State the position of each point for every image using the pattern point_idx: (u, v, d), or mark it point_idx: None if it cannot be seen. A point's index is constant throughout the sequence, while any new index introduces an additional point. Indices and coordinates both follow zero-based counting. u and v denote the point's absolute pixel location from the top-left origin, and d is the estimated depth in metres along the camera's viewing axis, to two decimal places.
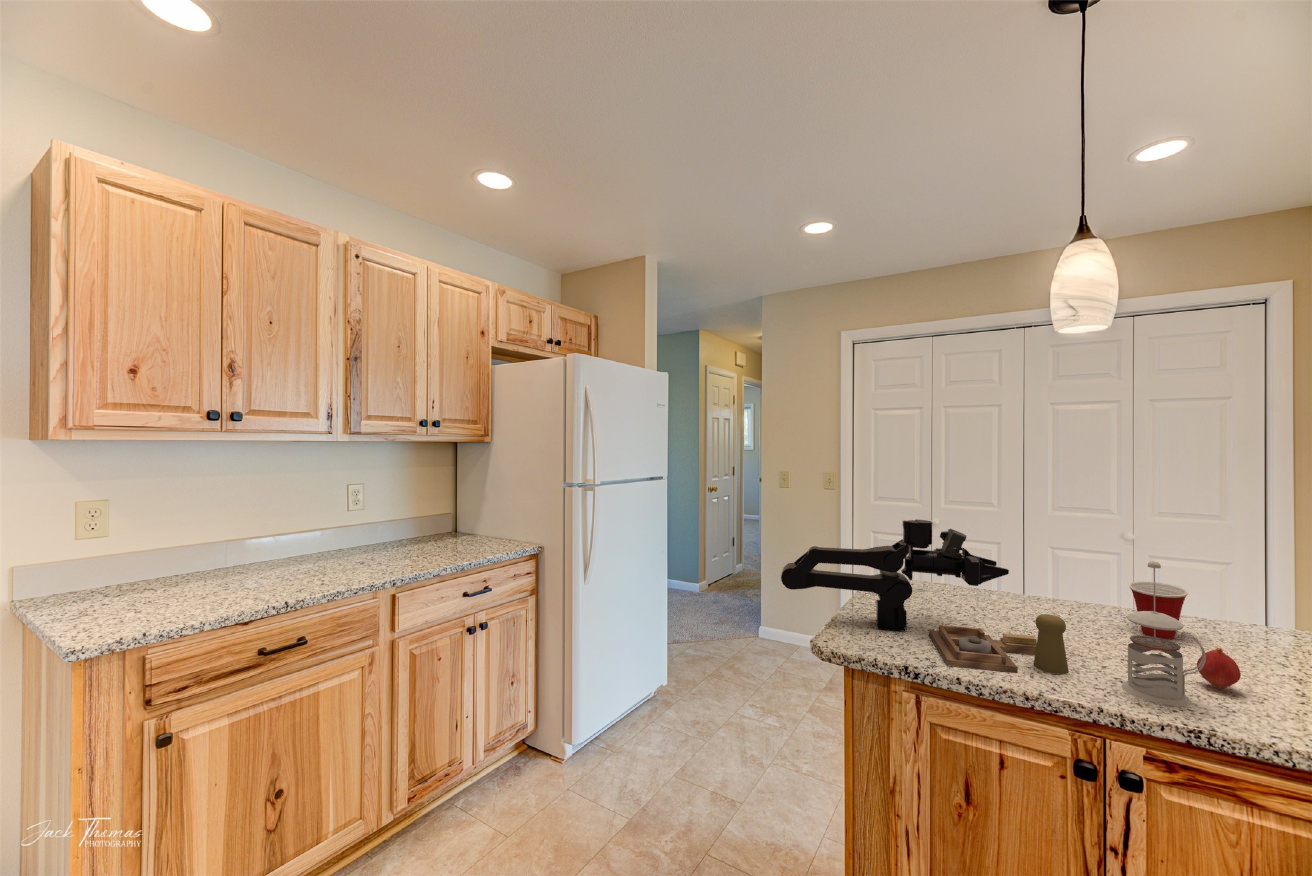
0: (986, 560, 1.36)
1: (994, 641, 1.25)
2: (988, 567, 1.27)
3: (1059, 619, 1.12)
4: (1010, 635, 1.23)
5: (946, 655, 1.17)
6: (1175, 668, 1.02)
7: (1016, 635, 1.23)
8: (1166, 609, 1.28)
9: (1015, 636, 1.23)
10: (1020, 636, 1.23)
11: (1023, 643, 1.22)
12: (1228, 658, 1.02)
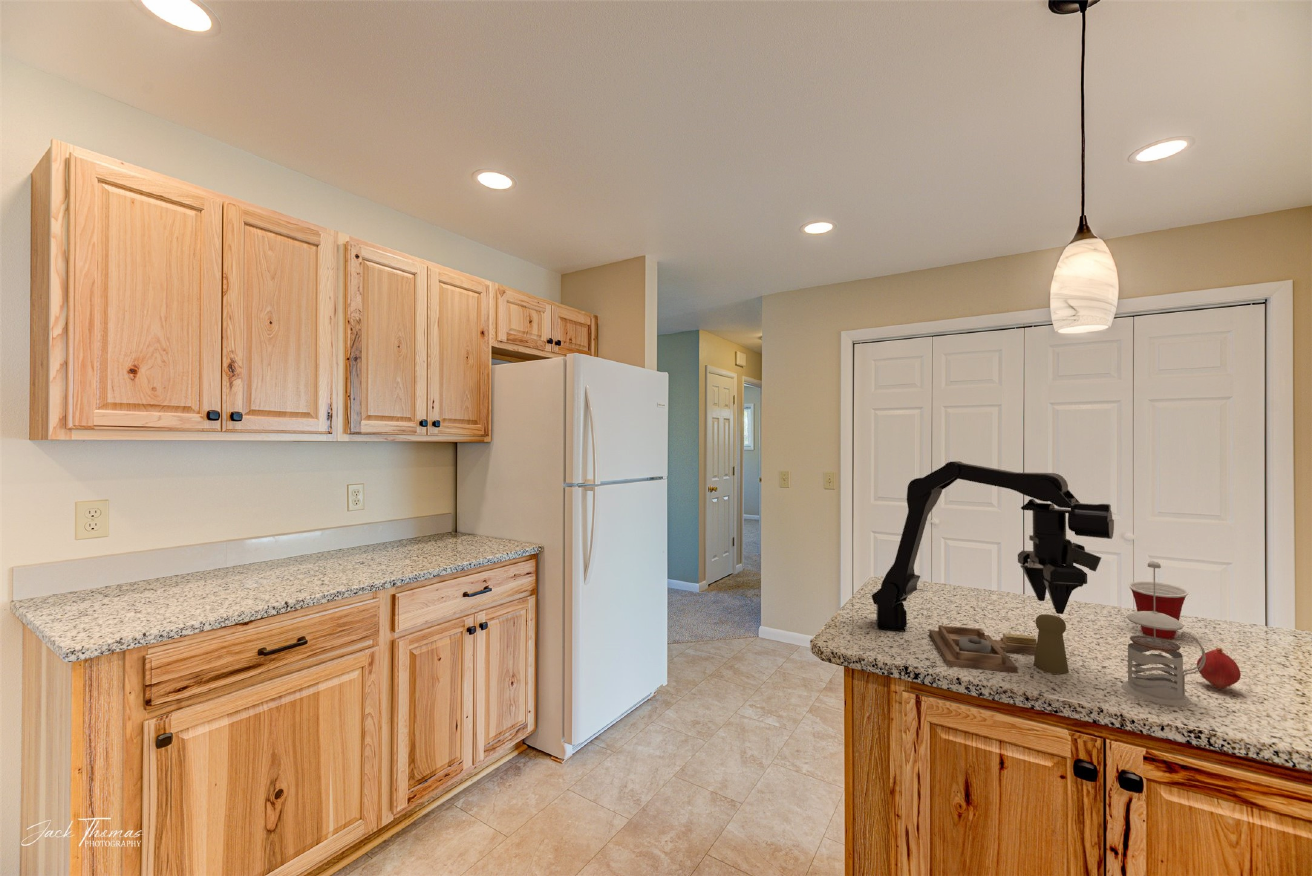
0: (1044, 590, 1.18)
1: (994, 641, 1.25)
2: (1068, 592, 1.07)
3: (1059, 619, 1.12)
4: (1010, 635, 1.23)
5: (946, 655, 1.17)
6: (1175, 668, 1.02)
7: (1016, 635, 1.23)
8: (1166, 609, 1.28)
9: (1015, 636, 1.23)
10: (1020, 636, 1.23)
11: (1023, 643, 1.22)
12: (1228, 658, 1.02)
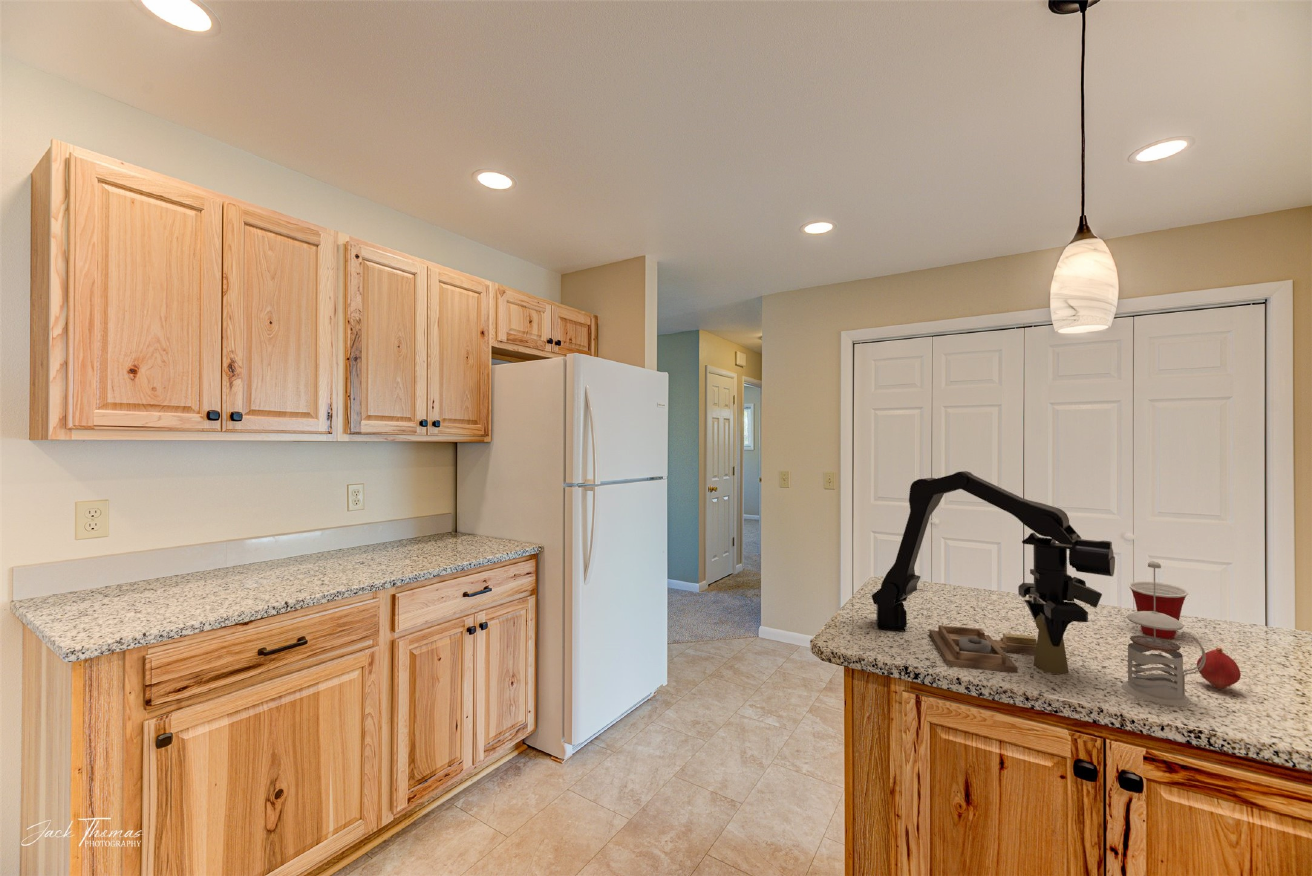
0: None
1: (994, 641, 1.25)
2: (1064, 626, 1.09)
3: None
4: (1010, 635, 1.23)
5: (946, 655, 1.17)
6: (1175, 668, 1.02)
7: (1016, 635, 1.23)
8: (1166, 609, 1.28)
9: (1015, 636, 1.23)
10: (1020, 636, 1.23)
11: (1023, 643, 1.22)
12: (1228, 658, 1.02)
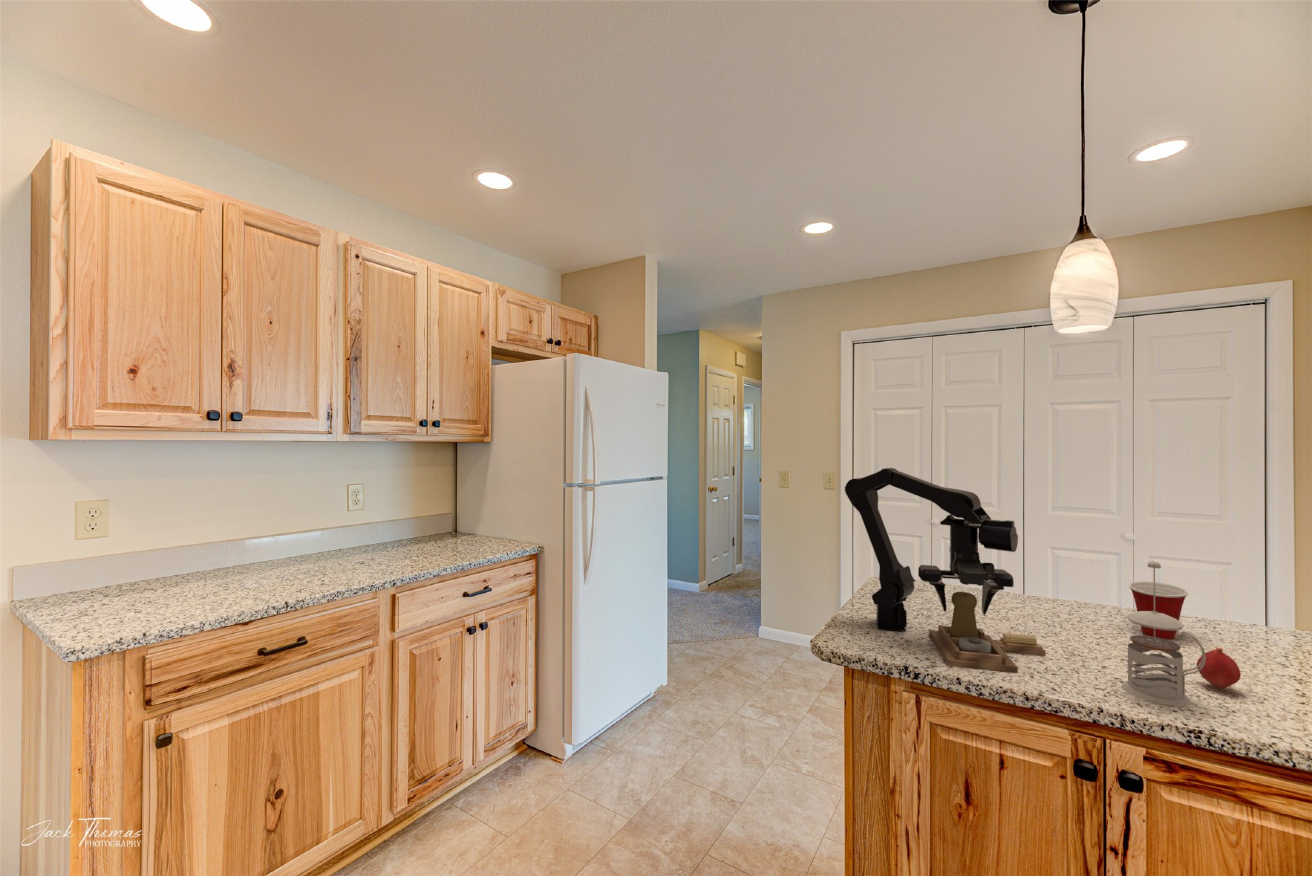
0: (984, 604, 1.25)
1: (994, 641, 1.25)
2: None
3: (959, 594, 1.26)
4: (1010, 635, 1.23)
5: (946, 655, 1.17)
6: (1175, 668, 1.02)
7: (1016, 635, 1.23)
8: (1166, 609, 1.28)
9: (1015, 636, 1.23)
10: (1020, 636, 1.23)
11: (1023, 643, 1.22)
12: (1228, 658, 1.02)
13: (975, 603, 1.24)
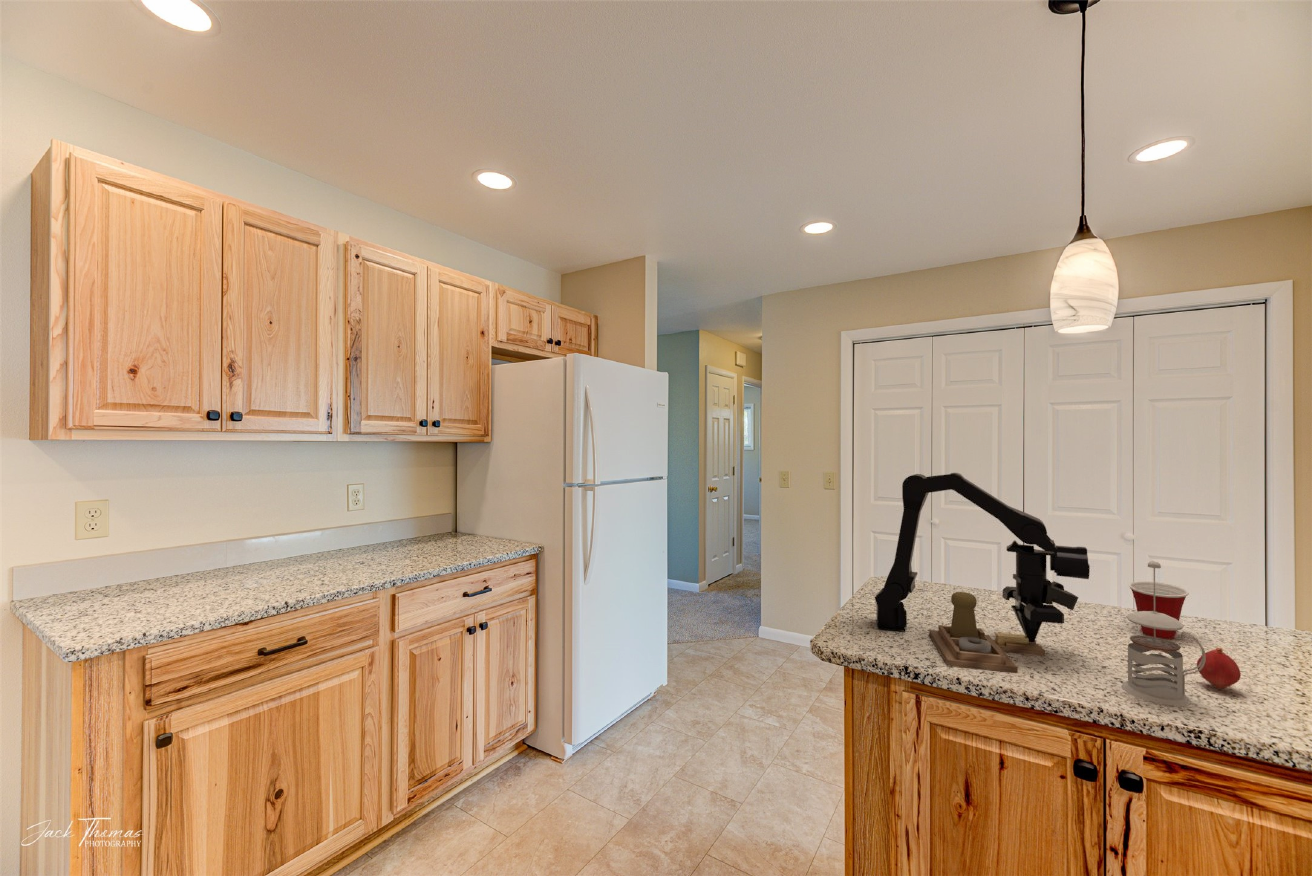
0: None
1: (994, 641, 1.25)
2: (1039, 623, 1.20)
3: (958, 595, 1.26)
4: (1002, 634, 1.24)
5: (946, 655, 1.17)
6: (1175, 668, 1.02)
7: (1008, 634, 1.24)
8: (1166, 609, 1.28)
9: (1007, 635, 1.23)
10: (1012, 635, 1.23)
11: (1015, 642, 1.22)
12: (1228, 658, 1.02)
13: (975, 603, 1.24)
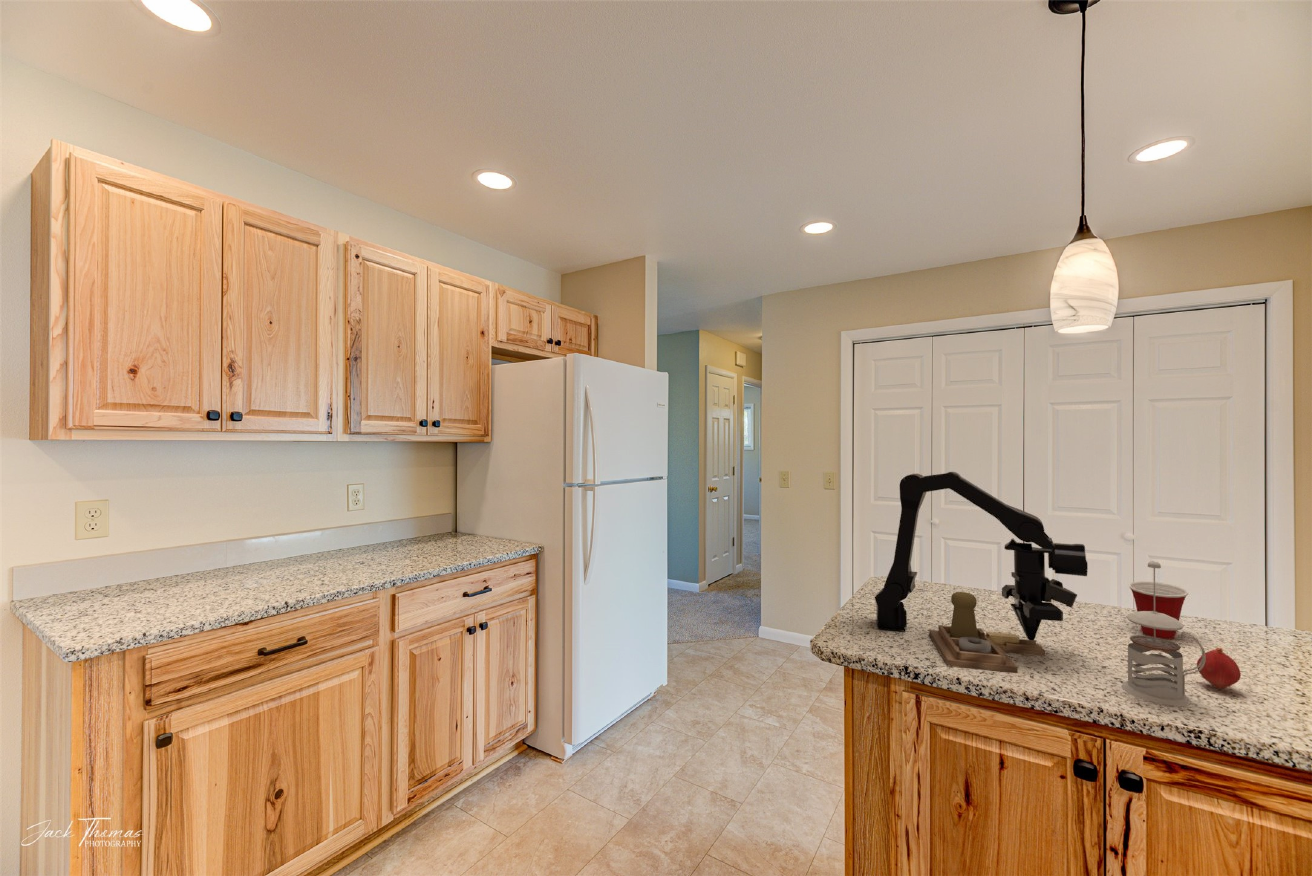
0: None
1: None
2: (1038, 621, 1.20)
3: (958, 595, 1.26)
4: (993, 634, 1.24)
5: (946, 655, 1.17)
6: (1175, 668, 1.02)
7: (999, 634, 1.24)
8: (1166, 609, 1.28)
9: (998, 635, 1.24)
10: (1003, 635, 1.24)
11: (1006, 641, 1.23)
12: (1228, 658, 1.02)
13: (975, 603, 1.24)
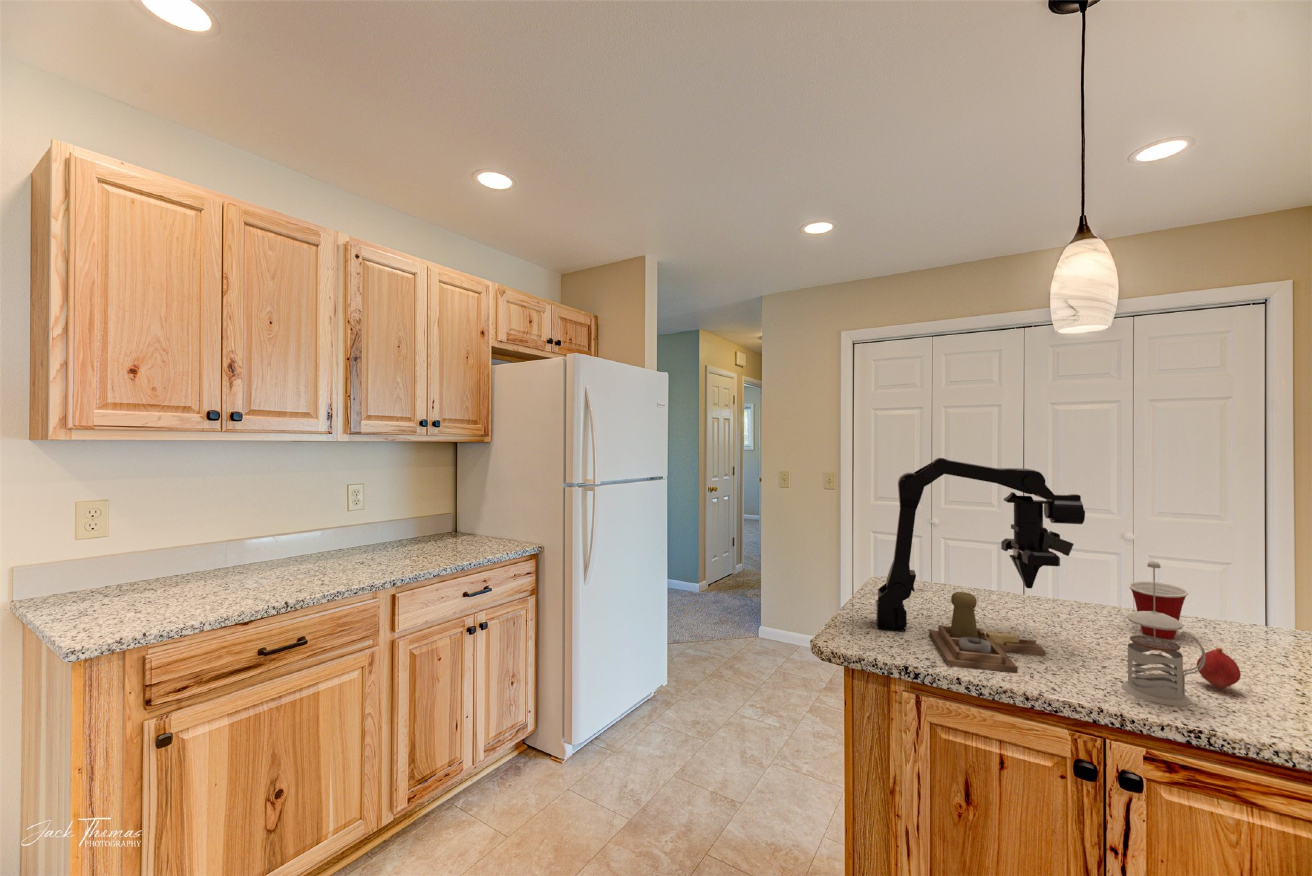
0: None
1: None
2: (1036, 570, 1.26)
3: (958, 595, 1.26)
4: (993, 634, 1.24)
5: (946, 655, 1.17)
6: (1175, 668, 1.02)
7: (999, 634, 1.24)
8: (1166, 609, 1.28)
9: (998, 635, 1.24)
10: (1003, 635, 1.24)
11: (1006, 641, 1.23)
12: (1228, 658, 1.02)
13: (975, 603, 1.24)
